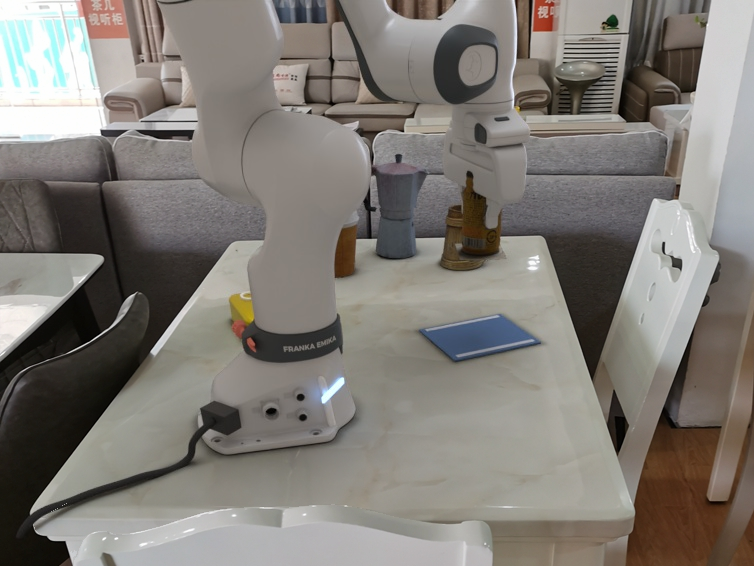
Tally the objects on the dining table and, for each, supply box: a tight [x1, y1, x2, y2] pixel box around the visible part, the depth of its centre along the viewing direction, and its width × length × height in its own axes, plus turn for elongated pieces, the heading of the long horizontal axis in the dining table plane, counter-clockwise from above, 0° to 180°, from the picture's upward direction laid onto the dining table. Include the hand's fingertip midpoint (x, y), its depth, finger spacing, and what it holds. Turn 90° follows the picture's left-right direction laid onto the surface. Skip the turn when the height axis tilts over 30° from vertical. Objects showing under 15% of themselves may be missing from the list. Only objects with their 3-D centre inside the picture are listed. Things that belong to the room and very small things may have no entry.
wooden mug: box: [440, 203, 485, 271], centre depth 158 cm, size 9×14×18 cm, turn 89°
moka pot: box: [362, 153, 430, 259], centre depth 165 cm, size 10×15×20 cm, turn 89°
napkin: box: [418, 313, 542, 363], centre depth 133 cm, size 16×14×1 cm
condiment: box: [455, 171, 508, 262], centre depth 119 cm, size 7×8×12 cm
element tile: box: [228, 290, 254, 326], centre depth 138 cm, size 15×15×5 cm
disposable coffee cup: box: [334, 210, 360, 278], centre depth 158 cm, size 10×10×12 cm
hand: (479, 221), depth 121 cm, fingers closed on condiment, 6 cm apart
